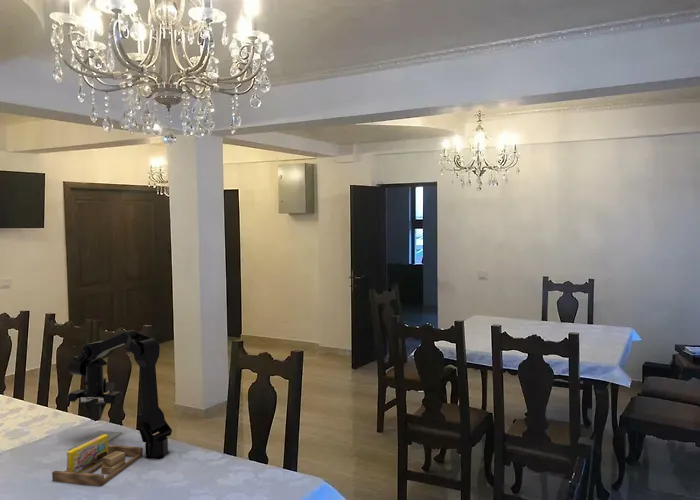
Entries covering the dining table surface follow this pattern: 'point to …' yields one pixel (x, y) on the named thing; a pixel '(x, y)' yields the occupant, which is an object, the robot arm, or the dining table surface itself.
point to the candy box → (87, 454)
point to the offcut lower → (111, 468)
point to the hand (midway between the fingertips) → (96, 419)
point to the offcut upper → (113, 459)
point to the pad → (110, 436)
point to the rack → (98, 478)
